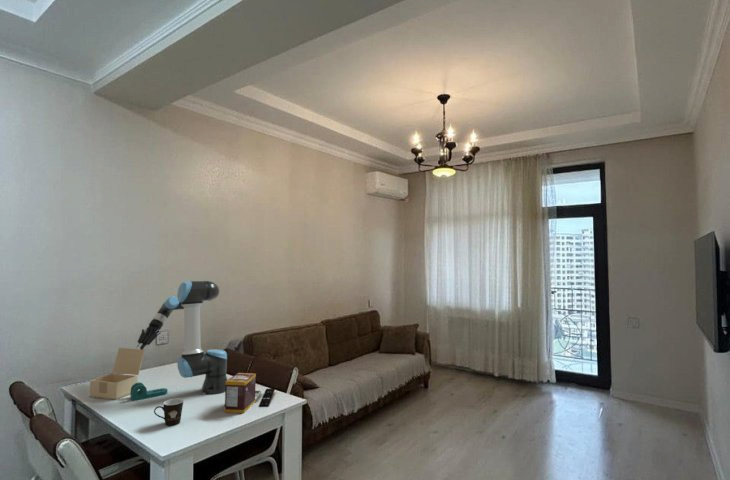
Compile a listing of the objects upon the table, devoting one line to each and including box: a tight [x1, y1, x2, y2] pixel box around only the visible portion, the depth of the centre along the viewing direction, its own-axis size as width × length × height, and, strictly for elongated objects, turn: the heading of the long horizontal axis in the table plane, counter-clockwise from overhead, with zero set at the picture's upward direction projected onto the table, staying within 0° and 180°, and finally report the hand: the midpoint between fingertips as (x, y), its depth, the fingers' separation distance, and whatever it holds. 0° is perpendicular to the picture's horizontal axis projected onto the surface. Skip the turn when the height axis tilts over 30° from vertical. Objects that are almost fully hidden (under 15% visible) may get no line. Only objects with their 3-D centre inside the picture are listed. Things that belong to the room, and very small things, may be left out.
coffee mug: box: [153, 398, 184, 427], centre depth 182 cm, size 12×9×10 cm
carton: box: [89, 372, 138, 401], centre depth 219 cm, size 14×18×9 cm
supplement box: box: [224, 372, 257, 414], centre depth 203 cm, size 10×15×16 cm
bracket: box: [129, 381, 168, 402], centre depth 217 cm, size 18×7×8 cm, turn 129°
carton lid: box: [112, 347, 145, 376], centre depth 229 cm, size 14×18×1 cm
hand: (136, 353), depth 235 cm, fingers closed
